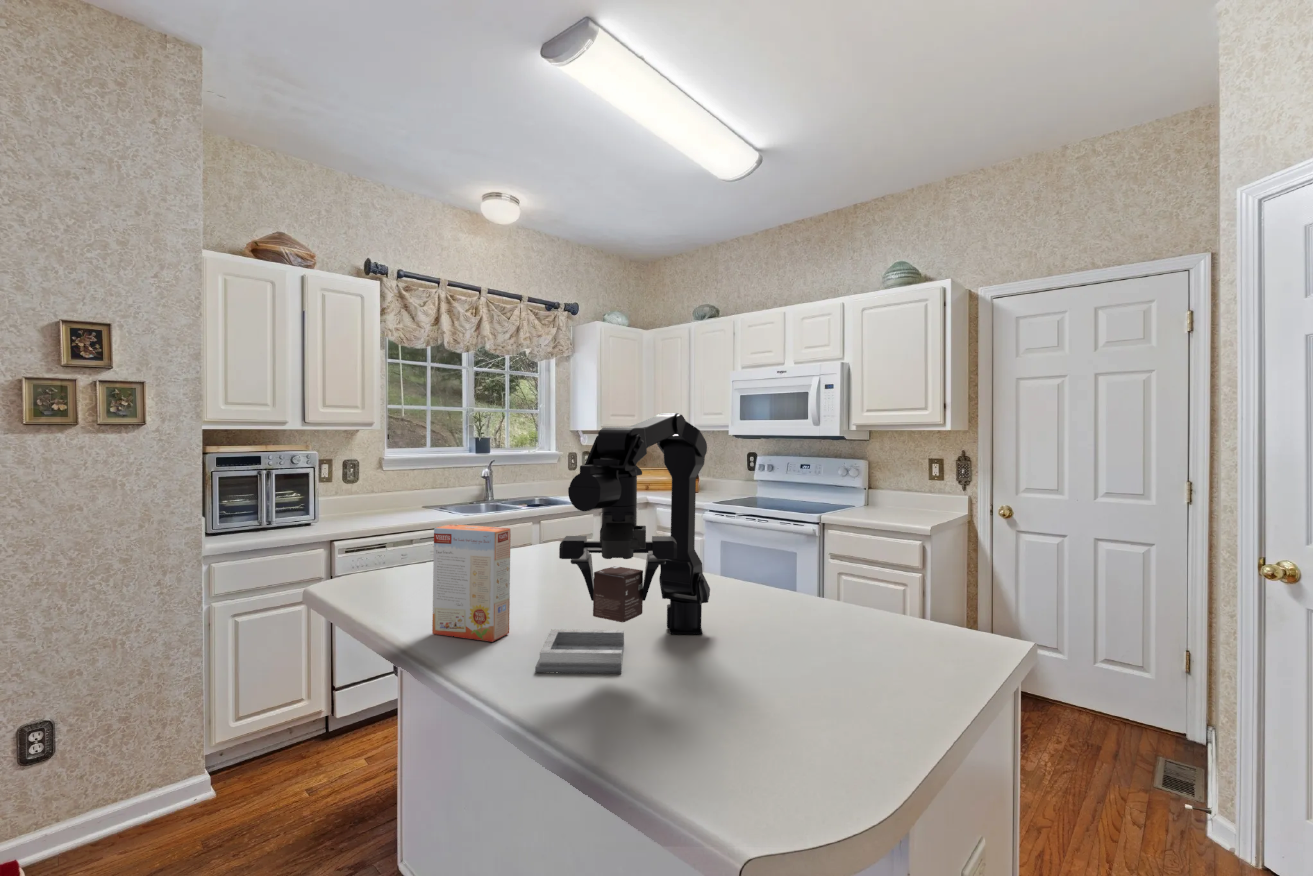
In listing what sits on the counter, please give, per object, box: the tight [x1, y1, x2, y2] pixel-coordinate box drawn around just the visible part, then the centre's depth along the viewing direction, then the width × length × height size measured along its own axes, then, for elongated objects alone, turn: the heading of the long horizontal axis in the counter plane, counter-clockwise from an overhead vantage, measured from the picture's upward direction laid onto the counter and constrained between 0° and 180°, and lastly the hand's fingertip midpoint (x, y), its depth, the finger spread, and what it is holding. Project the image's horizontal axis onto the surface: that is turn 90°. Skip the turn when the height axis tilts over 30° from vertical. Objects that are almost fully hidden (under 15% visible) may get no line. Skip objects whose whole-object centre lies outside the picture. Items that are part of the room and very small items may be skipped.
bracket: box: [534, 628, 625, 675], centre depth 105 cm, size 14×14×3 cm
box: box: [592, 565, 644, 623], centre depth 98 cm, size 6×6×7 cm
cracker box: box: [431, 524, 511, 643], centre depth 117 cm, size 14×6×21 cm, turn 71°
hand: (618, 600), depth 98 cm, fingers closed on box, 8 cm apart
